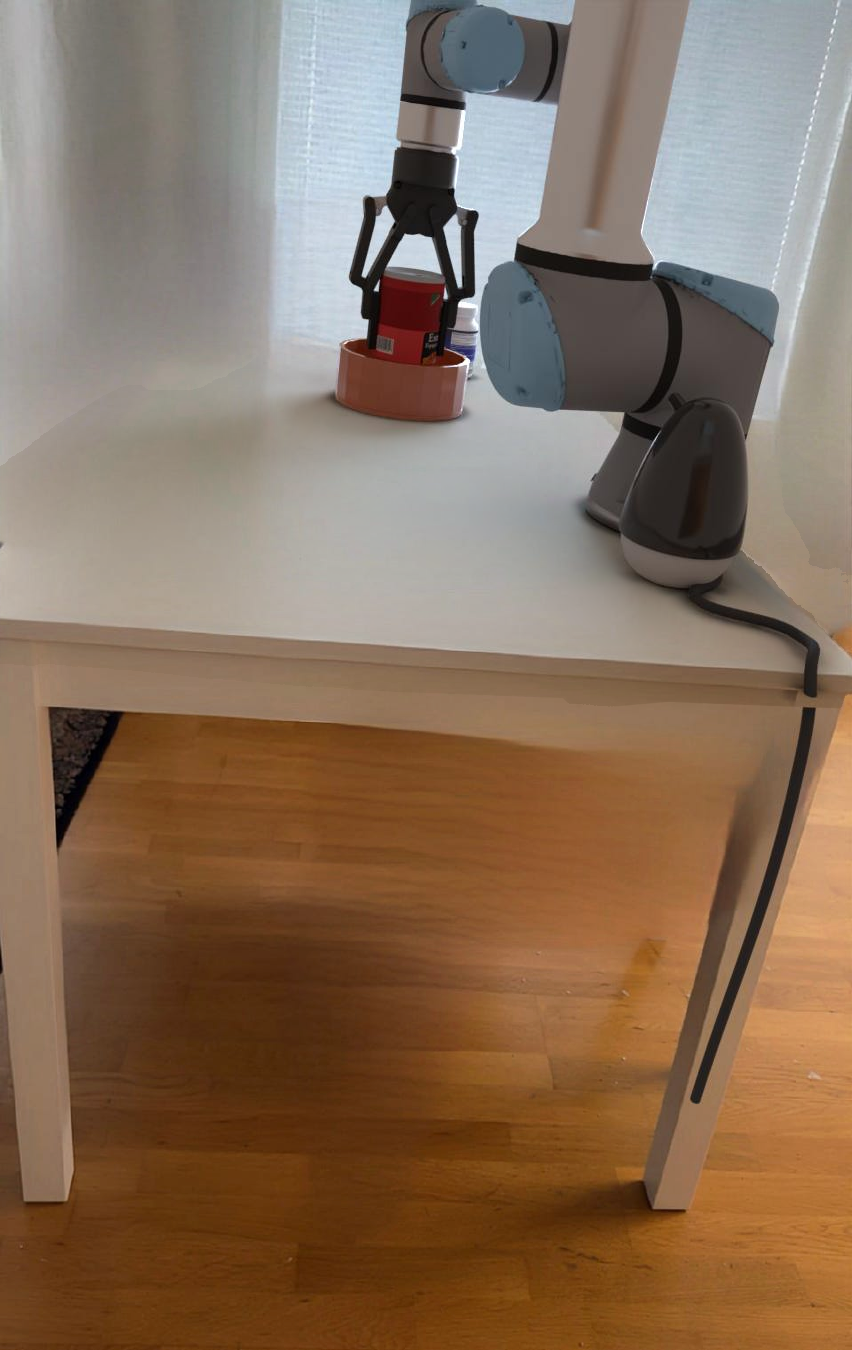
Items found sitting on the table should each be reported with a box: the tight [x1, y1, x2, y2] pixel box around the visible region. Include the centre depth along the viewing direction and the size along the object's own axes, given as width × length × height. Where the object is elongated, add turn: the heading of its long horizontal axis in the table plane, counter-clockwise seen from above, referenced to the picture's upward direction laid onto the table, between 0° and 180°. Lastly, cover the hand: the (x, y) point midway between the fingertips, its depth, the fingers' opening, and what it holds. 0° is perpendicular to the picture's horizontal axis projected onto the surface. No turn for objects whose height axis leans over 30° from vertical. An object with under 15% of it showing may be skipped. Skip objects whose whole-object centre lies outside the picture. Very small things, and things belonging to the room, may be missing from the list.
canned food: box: [372, 266, 446, 366], centre depth 131 cm, size 8×8×11 cm
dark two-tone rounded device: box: [618, 393, 749, 589], centre depth 87 cm, size 10×10×15 cm
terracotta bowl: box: [334, 337, 470, 422], centre depth 134 cm, size 16×16×6 cm
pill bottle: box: [444, 301, 479, 379], centre depth 155 cm, size 6×6×10 cm
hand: (404, 350), depth 133 cm, fingers closed on canned food, 8 cm apart
